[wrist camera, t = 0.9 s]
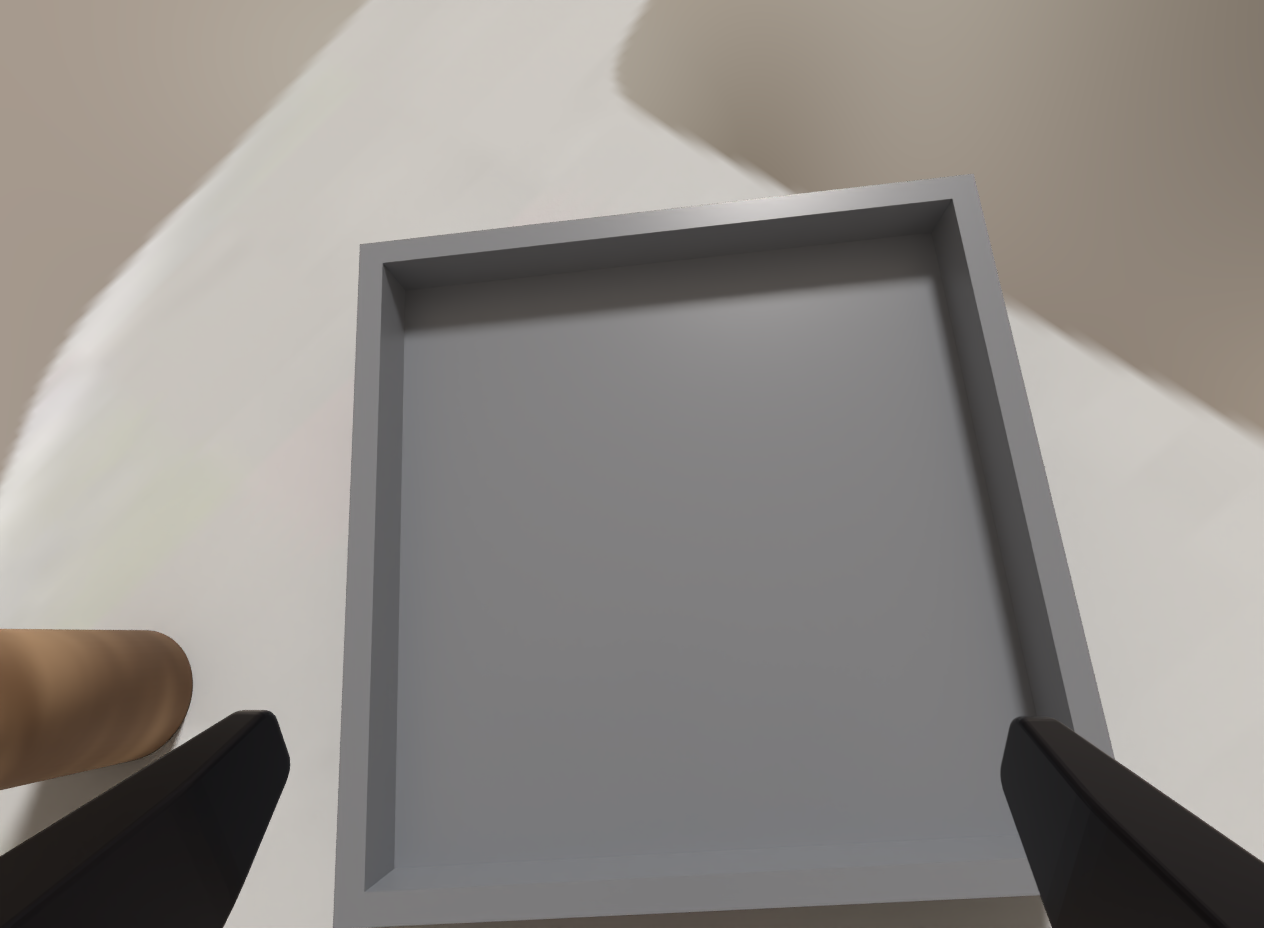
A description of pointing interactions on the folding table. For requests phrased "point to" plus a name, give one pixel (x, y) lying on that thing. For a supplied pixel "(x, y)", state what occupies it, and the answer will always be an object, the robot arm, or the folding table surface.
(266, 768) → the robot arm
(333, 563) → the folding table surface
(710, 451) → the parts tray
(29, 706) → the walnut part
